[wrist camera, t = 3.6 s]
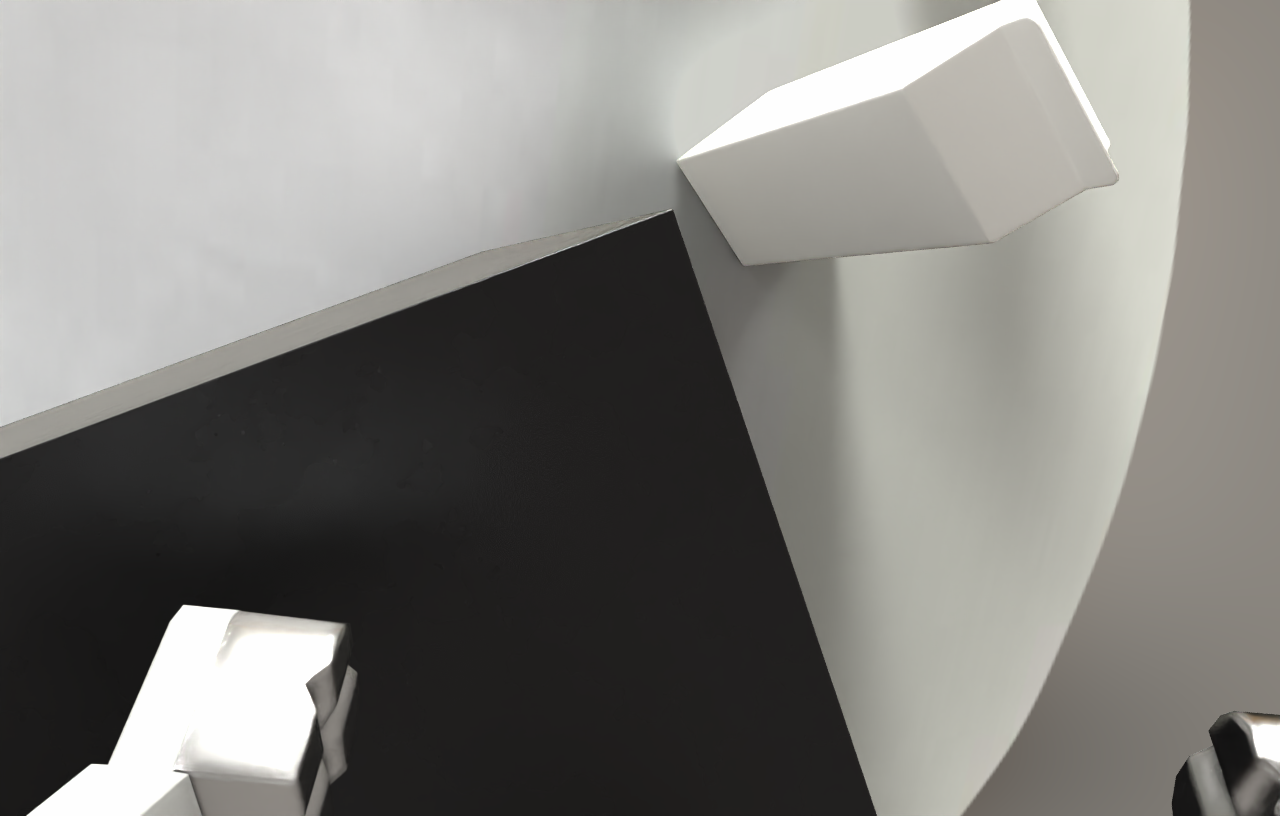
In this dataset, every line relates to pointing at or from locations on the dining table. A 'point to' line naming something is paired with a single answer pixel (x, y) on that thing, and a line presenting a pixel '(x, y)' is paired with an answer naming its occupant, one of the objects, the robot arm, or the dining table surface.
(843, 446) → the dining table surface
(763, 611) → the microwave
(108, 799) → the robot arm
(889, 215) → the milk
